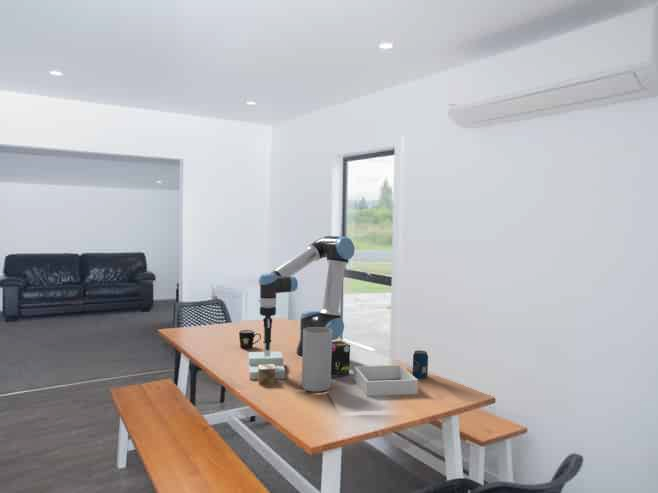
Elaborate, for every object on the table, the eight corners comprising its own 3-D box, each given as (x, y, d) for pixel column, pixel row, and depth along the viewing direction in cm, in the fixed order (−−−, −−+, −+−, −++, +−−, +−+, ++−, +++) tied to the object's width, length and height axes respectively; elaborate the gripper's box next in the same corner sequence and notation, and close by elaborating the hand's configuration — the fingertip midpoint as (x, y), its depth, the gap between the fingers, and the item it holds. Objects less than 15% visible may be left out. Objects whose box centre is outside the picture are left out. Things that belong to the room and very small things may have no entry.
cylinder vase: (320, 394, 199) (322, 334, 198) (295, 388, 206) (297, 330, 205) (336, 386, 210) (337, 329, 209) (312, 381, 216) (313, 325, 215)
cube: (275, 368, 210) (274, 384, 211) (274, 364, 217) (273, 379, 217) (259, 368, 209) (258, 384, 209) (258, 364, 216) (258, 379, 216)
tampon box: (329, 378, 221) (330, 346, 220) (320, 372, 229) (321, 342, 229) (349, 375, 226) (350, 344, 225) (340, 370, 234) (341, 340, 234)
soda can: (409, 375, 228) (410, 350, 228) (422, 374, 231) (423, 349, 230) (417, 380, 222) (418, 354, 221) (430, 378, 224) (431, 353, 224)
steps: (280, 364, 242) (280, 351, 241) (285, 378, 219) (285, 364, 219) (248, 364, 239) (248, 352, 238) (249, 379, 216) (249, 365, 216)
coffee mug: (235, 349, 267) (235, 331, 267) (243, 346, 275) (244, 329, 275) (253, 352, 263) (254, 334, 263) (261, 348, 271) (262, 331, 271)
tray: (399, 377, 224) (400, 365, 224) (417, 394, 203) (418, 380, 202) (353, 379, 220) (353, 366, 220) (366, 396, 198) (366, 381, 198)
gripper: (259, 304, 231) (258, 352, 232) (260, 308, 219) (259, 360, 220) (274, 304, 233) (273, 352, 234) (277, 308, 220) (276, 359, 221)
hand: (267, 356), depth 227 cm, fingers closed
